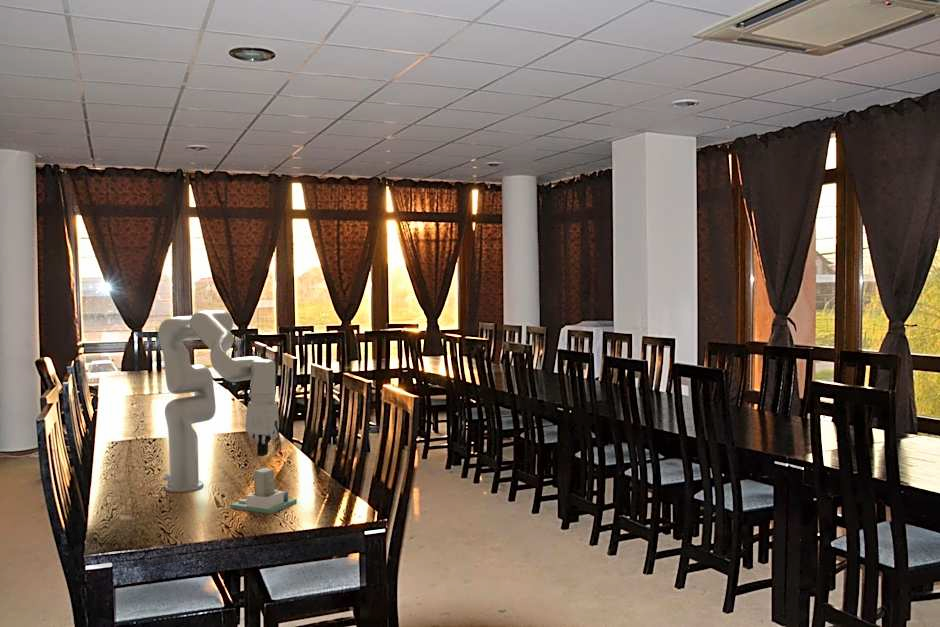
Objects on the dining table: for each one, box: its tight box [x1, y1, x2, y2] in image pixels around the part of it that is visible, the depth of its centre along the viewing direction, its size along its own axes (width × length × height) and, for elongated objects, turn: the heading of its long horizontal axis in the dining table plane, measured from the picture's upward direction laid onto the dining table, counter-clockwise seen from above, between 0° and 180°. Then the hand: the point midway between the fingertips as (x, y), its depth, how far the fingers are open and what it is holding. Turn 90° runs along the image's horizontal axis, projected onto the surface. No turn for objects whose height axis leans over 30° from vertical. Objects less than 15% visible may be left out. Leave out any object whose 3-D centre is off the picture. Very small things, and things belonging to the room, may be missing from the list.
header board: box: [230, 491, 297, 515], centre depth 262 cm, size 16×13×4 cm
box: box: [253, 467, 276, 497], centre depth 259 cm, size 5×4×11 cm
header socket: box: [246, 489, 285, 509], centre depth 260 cm, size 8×9×4 cm
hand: (262, 454), depth 259 cm, fingers closed
